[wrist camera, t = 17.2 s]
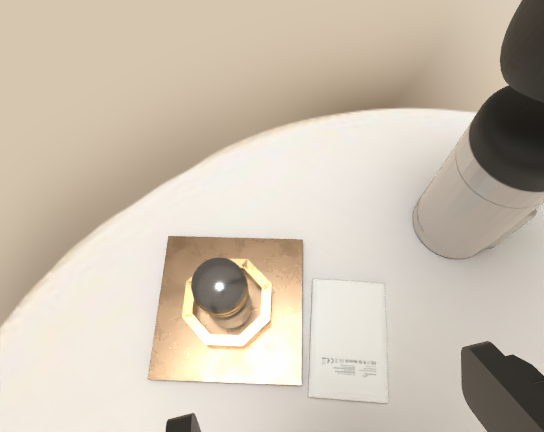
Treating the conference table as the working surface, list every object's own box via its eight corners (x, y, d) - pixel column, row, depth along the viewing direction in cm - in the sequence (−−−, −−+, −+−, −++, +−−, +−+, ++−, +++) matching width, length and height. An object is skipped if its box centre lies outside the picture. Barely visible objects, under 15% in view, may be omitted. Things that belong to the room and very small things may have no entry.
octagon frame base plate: (302, 242, 51) (303, 231, 48) (300, 385, 45) (302, 384, 42) (170, 239, 52) (163, 228, 49) (150, 379, 45) (140, 377, 42)
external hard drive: (382, 286, 49) (385, 403, 44) (311, 281, 50) (307, 397, 45) (385, 283, 48) (389, 403, 43) (312, 278, 48) (308, 397, 43)
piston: (254, 284, 48) (247, 256, 39) (252, 330, 46) (245, 312, 37) (209, 283, 48) (192, 255, 39) (205, 329, 46) (186, 311, 37)
